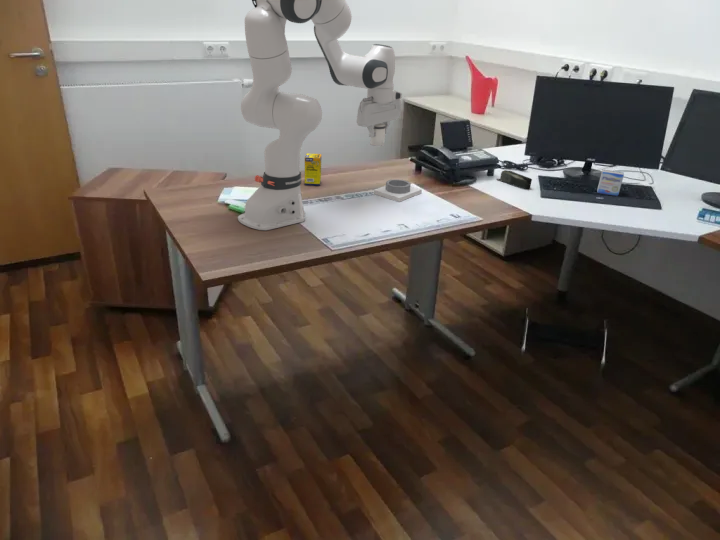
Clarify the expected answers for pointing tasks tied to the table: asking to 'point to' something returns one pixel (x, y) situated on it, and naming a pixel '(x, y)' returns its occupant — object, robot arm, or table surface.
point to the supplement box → (313, 169)
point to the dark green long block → (515, 179)
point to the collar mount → (397, 190)
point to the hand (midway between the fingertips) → (377, 135)
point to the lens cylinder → (378, 135)
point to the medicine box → (610, 182)
